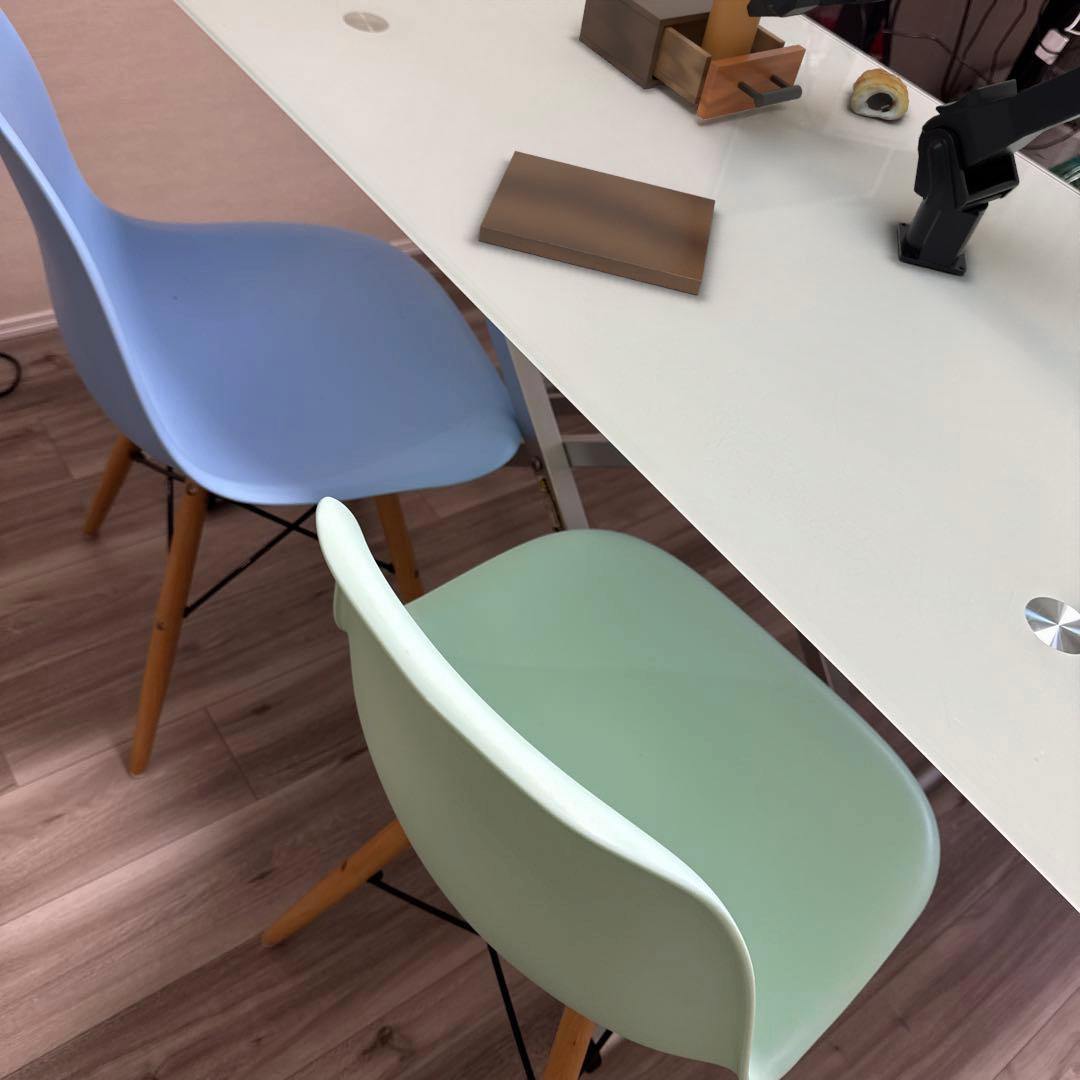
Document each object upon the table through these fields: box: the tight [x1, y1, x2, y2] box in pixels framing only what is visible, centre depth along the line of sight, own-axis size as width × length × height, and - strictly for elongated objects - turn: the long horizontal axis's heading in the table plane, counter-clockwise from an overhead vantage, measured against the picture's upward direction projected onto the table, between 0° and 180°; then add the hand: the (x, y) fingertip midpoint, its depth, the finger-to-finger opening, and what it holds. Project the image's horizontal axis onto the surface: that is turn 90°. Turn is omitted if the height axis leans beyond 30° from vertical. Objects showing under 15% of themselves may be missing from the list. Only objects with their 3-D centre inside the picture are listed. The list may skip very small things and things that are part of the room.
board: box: [478, 150, 716, 296], centre depth 91 cm, size 14×20×2 cm
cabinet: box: [578, 0, 713, 90], centre depth 114 cm, size 13×15×8 cm
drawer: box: [653, 19, 807, 121], centre depth 109 cm, size 16×13×6 cm
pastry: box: [850, 68, 910, 121], centre depth 116 cm, size 9×7×4 cm
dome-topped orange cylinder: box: [701, 0, 762, 82], centre depth 106 cm, size 5×5×12 cm
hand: (780, 6), depth 101 cm, fingers open, 9 cm apart
